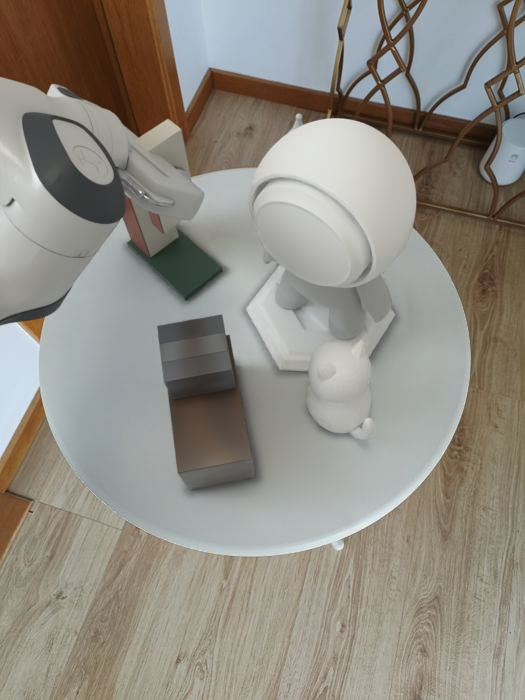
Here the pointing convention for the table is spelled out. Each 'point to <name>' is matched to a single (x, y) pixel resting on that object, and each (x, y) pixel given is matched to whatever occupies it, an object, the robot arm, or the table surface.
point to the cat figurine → (341, 388)
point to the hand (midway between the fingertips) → (174, 168)
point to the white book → (172, 149)
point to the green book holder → (168, 252)
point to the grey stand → (205, 403)
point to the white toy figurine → (328, 237)
